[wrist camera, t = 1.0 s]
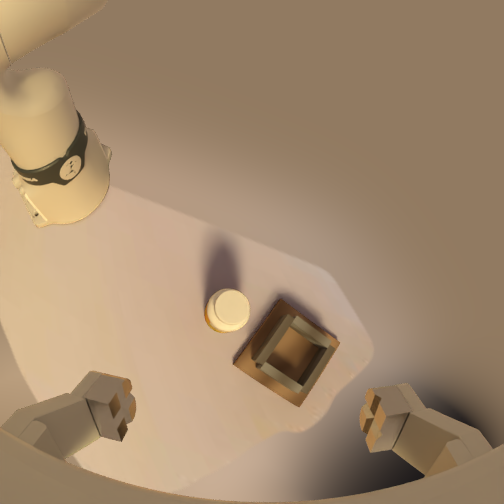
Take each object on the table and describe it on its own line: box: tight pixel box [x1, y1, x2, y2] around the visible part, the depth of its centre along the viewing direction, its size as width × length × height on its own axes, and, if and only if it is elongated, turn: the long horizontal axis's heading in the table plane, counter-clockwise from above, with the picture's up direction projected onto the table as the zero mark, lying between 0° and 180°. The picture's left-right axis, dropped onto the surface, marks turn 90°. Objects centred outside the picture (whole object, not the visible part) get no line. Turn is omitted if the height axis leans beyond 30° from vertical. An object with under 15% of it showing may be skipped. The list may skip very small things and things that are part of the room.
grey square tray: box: [233, 299, 340, 407], centre depth 40 cm, size 12×12×4 cm
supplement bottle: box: [204, 288, 250, 333], centre depth 37 cm, size 5×5×10 cm
